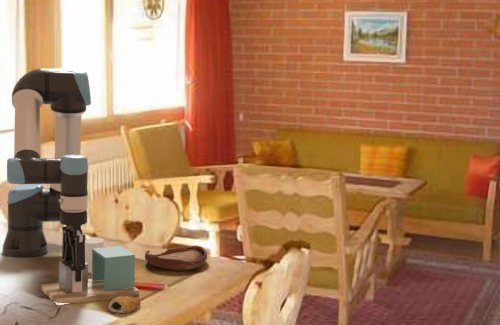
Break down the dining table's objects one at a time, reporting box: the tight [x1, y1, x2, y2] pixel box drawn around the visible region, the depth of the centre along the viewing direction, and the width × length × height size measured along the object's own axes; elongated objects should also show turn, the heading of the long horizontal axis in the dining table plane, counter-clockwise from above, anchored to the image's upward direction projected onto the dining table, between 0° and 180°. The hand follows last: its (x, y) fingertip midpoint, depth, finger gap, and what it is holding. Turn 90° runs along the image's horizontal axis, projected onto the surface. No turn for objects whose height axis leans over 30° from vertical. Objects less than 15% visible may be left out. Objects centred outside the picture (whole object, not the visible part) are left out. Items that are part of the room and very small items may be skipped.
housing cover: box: [91, 245, 136, 291], centre depth 226 cm, size 11×9×10 cm
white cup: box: [85, 236, 105, 274], centre depth 245 cm, size 8×8×10 cm
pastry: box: [107, 296, 141, 314], centre depth 210 cm, size 9×7×4 cm
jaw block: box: [58, 259, 89, 294], centre depth 220 cm, size 6×6×8 cm
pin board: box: [40, 278, 140, 304], centre depth 223 cm, size 16×24×4 cm, turn 121°
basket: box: [144, 245, 208, 272], centre depth 258 cm, size 22×20×5 cm
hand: (73, 288), depth 220 cm, fingers closed on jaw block, 6 cm apart
